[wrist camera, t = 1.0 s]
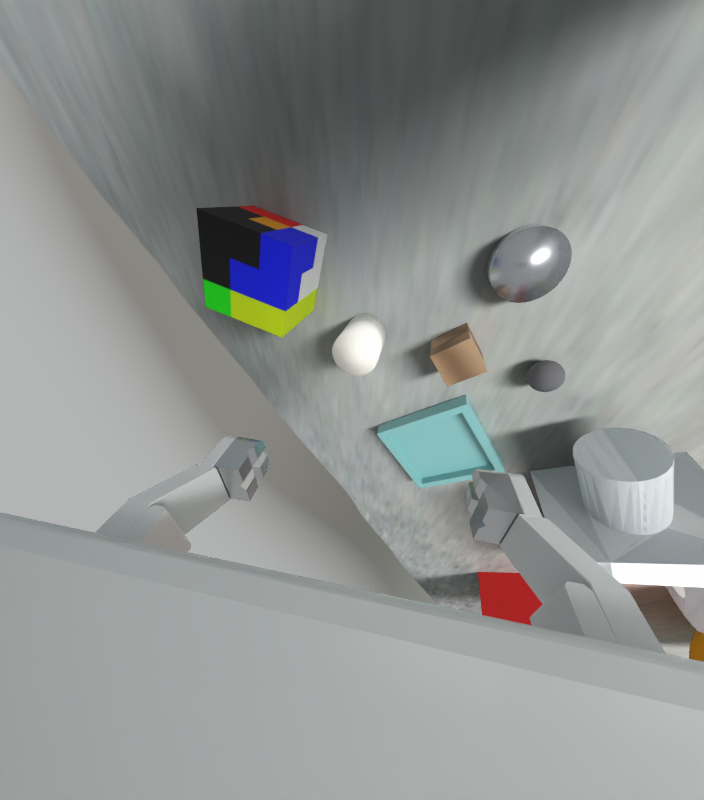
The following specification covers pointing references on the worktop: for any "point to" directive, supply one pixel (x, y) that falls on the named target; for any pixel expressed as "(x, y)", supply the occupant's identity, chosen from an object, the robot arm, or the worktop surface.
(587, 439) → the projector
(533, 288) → the grey metal dome
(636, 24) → the worktop surface
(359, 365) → the ceramic jar
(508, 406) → the worktop surface
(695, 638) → the educational model
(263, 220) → the puzzle toy
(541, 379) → the rubber ball
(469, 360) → the walnut block
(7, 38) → the worktop surface
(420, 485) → the tray
